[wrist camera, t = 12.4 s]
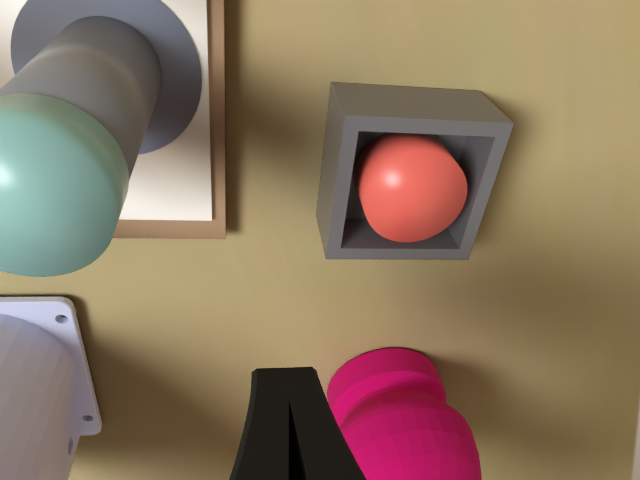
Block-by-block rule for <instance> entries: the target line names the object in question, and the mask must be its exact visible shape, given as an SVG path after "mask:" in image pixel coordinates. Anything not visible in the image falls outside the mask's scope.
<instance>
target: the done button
mask: <svg viewBox="0 0 640 480" xmlns="http://www.w3.org/2000/svg"><path fill="white" fill-rule="evenodd" d="M354 183H355V187H356V190H357V193H358V196H359V199H360V201H361V204H362V207H363V210H364V213H365V215H366V218H367V221H368V222H369V224H370V226H371V227H372V228H373V229H374V230H375V231H376V232H377V233H378V234H379V235H381V236H382V237H384V238H387V239H389V240H392V241H397V242H416V241H421V240H425V239H427V238H430V237H432V236H434V235H436V234H438V233H440V232H441V231H443V230H444V229H446V228H447V227H448V226H449V225H450V224H451V223H452V222H453V221H454V220H455V219H456V218H457V216H458V215H459V214H460V212H461V210H462V208H463V206H464V204H465V201H466V197H467V181H466V177H465V175H464V173H463V171H462V169H461V168H460V166H459V165H458V164H457V162H456V161H455V160H454V158H453V157H452V155H451V154H450V153H449V151H448V150H447V148H446V147H445V146H444V144H443V143H442V142H441V141H440V139H439V138H438V137H437V136H435V135H434V134H415V133H392V132H385V133H383V134H381V135H379V136H378V137H376V138H375V139H373V140H372V141H371V142H370V143H369V144H368V145H367V146H366V147H365V148H364V150H363V151H362V152H361V154H360V156H359V158H358V160H357V163H356V165H355V170H354Z"/></svg>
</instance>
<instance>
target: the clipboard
mask: <svg viewBox="0 0 640 480" xmlns="http://www.w3.org/2000/svg"><path fill="white" fill-rule="evenodd" d="M89 16H106V17H111V18H115V19H118V20H121V21H123V22H125V23H127V24H129V25H131V26H132V27H134V28H135V29H137V30H138V31H139V32H140V33H141V34H142V35H144V37H145V38H146V39H147V40H148V41H149V42H150V44H151V45H152V46H153V48H154V50H155V51H156V53H157V56H158V58H159V60H160V64H161V68H162V87H161V90H160V93H159V96H158V99H157V102H156V105H155V108H154V111H153V114H152V117H151V119H150V122H149V125H148V128H147V131H146V134H145V137H144V140H143V143H142V145H141V148H140V151H139V154H138V157H137V160H136V163H135V166H134V169H133V171H132V174H131V177H130V180H129V187H128V192H127V196H126V199H125V202H124V205H123V208H122V211H121V214H120V217H119V220H118V223H117V226H116V229H115V232H114V235H113V237H112V238H172V239H226V161H225V15H224V0H0V89H1V88H2V87H3V86H4V85H5V84H6V83H7V82H8V81H9V80H10V79H12V78H13V77H14V76H15V75H16V74H17V73H18V72H19V71H20V70H21V69H22V68H23V67H24V66H25V65H26V64H27V63H29V62H30V61H31V60H32V59H33V58H34V57H35V56H36V55H37V54H38V53H39V52H40V51H41V50H42V49H43V48H44V47H46V46H47V45H48V44H49V43H50V42H51V41H52V40H53V39H54V38H55V37H56V36H57V35H58V34H59V33H60V32H61V31H63V30H64V29H65V28H66V27H67V26H68V25H69V24H71V23H72V22H74V21H76V20H78V19H81V18H84V17H89Z"/></svg>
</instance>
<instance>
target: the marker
mask: <svg viewBox="0 0 640 480" xmlns="http://www.w3.org/2000/svg"><path fill="white" fill-rule="evenodd" d="M161 87H162V68H161V64H160V60H159V58H158V56H157V53H156V51H155V50H154V48H153V46H152V45H151V44H150V42H149V41H148V40H147V39H146V38H145V37H144V35H142V34H141V33H140V32H139V31H138V30H137V29H135V28H134V27H132V26H131V25H129V24H127V23H125V22H123V21H121V20H118V19H115V18H111V17H106V16H89V17H84V18H81V19H78V20H76V21H74V22H72V23H71V24H69V25H68V26H67V27H66V28H65V29H64V30H63V31H61V32H60V33H59V34H58V35H57V36H56V37H55V38H54V39H53V40H52V41H51V42H50V43H49V44H48V45H47V46H46V47H44V48H43V49H42V50H41V51H40V52H39V53H38V54H37V55H36V56H35V57H34V58H33V59H32V60H31V61H30V62H29V63H27V64H26V65H25V66H24V67H23V68H22V69H21V70H20V71H19V72H18V73H17V74H16V75H15V76H14V77H13V78H12V79H10V80H9V81H8V82H7V83H6V84H5V85H4V86H3V87H2V88H1V89H0V270H1V271H4V272H7V273H12V274H16V275H23V276H33V277H47V276H57V275H63V274H67V273H71V272H74V271H76V270H79V269H81V268H83V267H85V266H87V265H89V264H91V263H92V262H93V261H95V260H96V259H97V258H98V257H99V256H100V255H101V254H102V253H103V252H104V251H105V250H106V248H107V247H108V245H109V244H110V242H111V239H112V237H113V235H114V232H115V229H116V226H117V223H118V220H119V217H120V214H121V211H122V208H123V205H124V202H125V199H126V196H127V192H128V187H129V180H130V177H131V174H132V171H133V169H134V166H135V163H136V160H137V157H138V154H139V151H140V148H141V145H142V143H143V140H144V137H145V134H146V131H147V128H148V125H149V122H150V119H151V117H152V114H153V111H154V108H155V105H156V102H157V99H158V96H159V93H160V90H161Z"/></svg>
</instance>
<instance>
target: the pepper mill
mask: <svg viewBox="0 0 640 480" xmlns="http://www.w3.org/2000/svg"><path fill="white" fill-rule="evenodd" d="M327 398H328V404H329V406H330V409H331V411H332V413H333V415H334V417H335V420H336V422H337V424H338V426H339V428H340V430H341V432H342V434H343V436H344V438H345V440H346V442H347V444H348V446H349V448H350V450H351V452H352V454H353V456H354V458H355V460H356V462H357V463H358V465H359V467H360V469H361V471H362V472H363V474H364V476H365V478H366V479H367V480H481V469H480V460H479V453H478V450H477V447H476V444H475V440H474V437H473V434H472V431H471V429H470V427H469V425H468V423H467V422H466V420H465V419H464V417H463V416H462V415H461V414H460V413H459V412H458V411H456V410H455V409H453V408H452V407H451V406H449V405H447V404H446V393H445V390H444V387H443V385H442V382H441V380H440V377H439V374H438V372H437V369H436V367H435V366H434V364H433V362H431V361H430V360H429V359H428V358H427V357H426V356H424V355H422V354H420V353H418V352H415V351H412V350H409V349H402V348H385V349H378V350H373V351H370V352H367V353H364V354H361V355H359V356H357V357H355V358H353V359H352V360H350V361H348V362H347V363H345V364H344V365H343V366H342V367H341V368H340V369H339V370H338V371H337V372H336V373H335V375H334V376H333V377H332V379H331V381H330V383H329V385H328V390H327Z"/></svg>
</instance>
